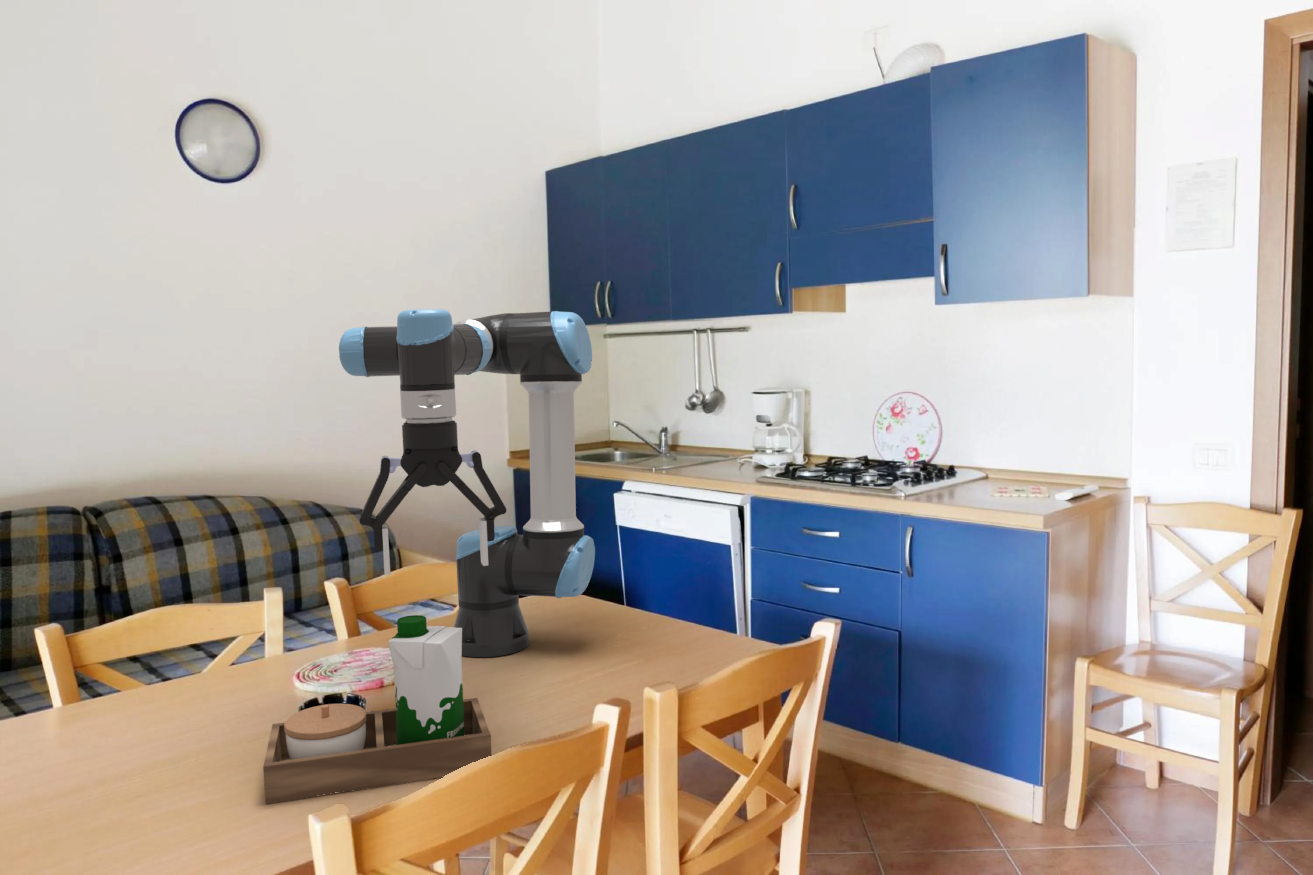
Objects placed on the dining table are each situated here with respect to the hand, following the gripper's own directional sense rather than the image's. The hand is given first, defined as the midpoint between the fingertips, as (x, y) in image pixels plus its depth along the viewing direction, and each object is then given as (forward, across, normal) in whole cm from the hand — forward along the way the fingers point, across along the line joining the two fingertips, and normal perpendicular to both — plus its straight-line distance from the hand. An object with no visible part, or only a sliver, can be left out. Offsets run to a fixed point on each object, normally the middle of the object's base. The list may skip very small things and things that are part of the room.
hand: (436, 568), depth 136 cm
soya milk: (+27, -2, -2) cm, 27 cm away
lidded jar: (+27, -16, -2) cm, 31 cm away
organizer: (+27, -9, -2) cm, 28 cm away
